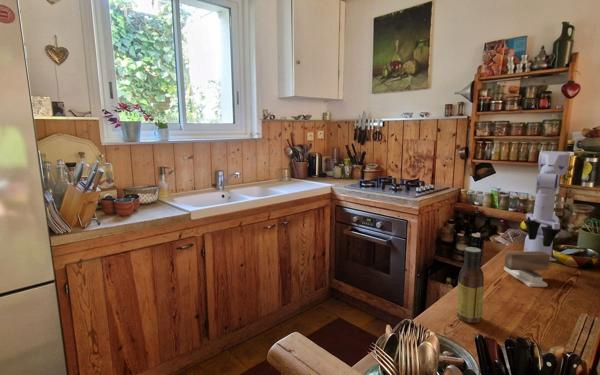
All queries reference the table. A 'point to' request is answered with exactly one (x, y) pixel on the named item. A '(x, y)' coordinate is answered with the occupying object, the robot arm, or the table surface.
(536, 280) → the ridge stand
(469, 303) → the sauce bottle
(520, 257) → the walnut batten
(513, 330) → the table surface
